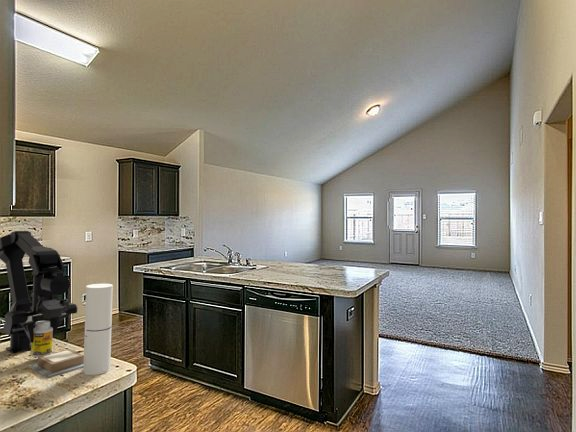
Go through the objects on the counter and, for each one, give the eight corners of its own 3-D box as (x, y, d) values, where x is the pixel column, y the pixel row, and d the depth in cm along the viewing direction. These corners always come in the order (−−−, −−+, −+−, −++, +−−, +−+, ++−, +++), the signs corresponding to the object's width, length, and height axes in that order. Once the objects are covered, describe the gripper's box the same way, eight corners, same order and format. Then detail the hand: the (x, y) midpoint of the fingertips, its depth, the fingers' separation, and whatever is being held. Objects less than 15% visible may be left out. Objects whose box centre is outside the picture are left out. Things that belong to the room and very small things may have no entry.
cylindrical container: (97, 376, 108) (100, 288, 109) (77, 372, 110) (80, 286, 111) (115, 367, 115) (118, 284, 115) (96, 364, 117) (99, 282, 117)
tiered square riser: (29, 367, 113) (29, 357, 113) (70, 356, 123) (71, 346, 123) (48, 378, 106) (49, 366, 106) (91, 364, 116) (91, 354, 116)
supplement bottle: (30, 359, 116) (31, 325, 116) (31, 353, 120) (32, 320, 120) (52, 355, 119) (53, 323, 119) (51, 350, 123) (52, 318, 123)
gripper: (21, 298, 107) (19, 354, 107) (87, 289, 123) (85, 338, 123) (4, 293, 114) (3, 345, 114) (69, 285, 129) (67, 331, 129)
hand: (42, 340), depth 120 cm, fingers closed on supplement bottle, 5 cm apart
